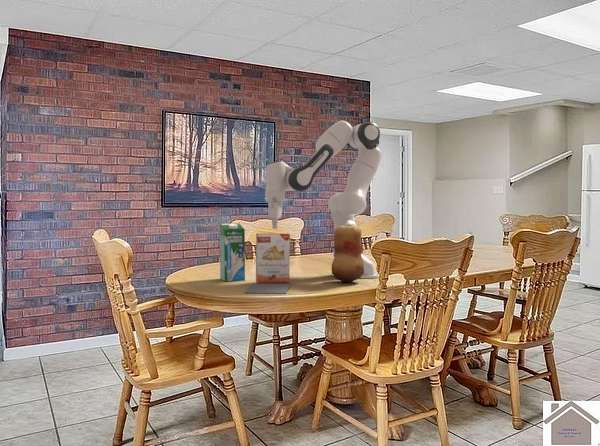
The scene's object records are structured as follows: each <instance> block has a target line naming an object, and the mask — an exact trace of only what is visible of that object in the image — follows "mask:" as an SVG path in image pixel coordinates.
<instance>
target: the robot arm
mask: <svg viewBox="0 0 600 446" xmlns="http://www.w3.org/2000/svg"><path fill="white" fill-rule="evenodd" d="M380 136H381V131H380V128H379V126H378V125H377V124H376V123H375V122H373V121H365V122H362V123H359V124H357V125H354V126H352V125H351V124H350V123H349V122H348V121H346V120H342V119H341V120H339V121H337V122H335V123H333V125H330V127H328V128H327V129H326V130H325V131H324V132H323V133H322V134H321V135H320V137H318V139H317V140H316V142H315V151H316V152H315V153H314V154H313V155H312V156H311V158H310V159H309V160H308V161H306V163H305V164H304V165H302V166H301V167H300V166H299V167H297V168H295V167H291V166H290V165H288V164H287V163H285V162H284V161H283V160H277V161H271V162H269V163H267V165H266V169H265V180H264V181H265V191H264V194H265V195H264V197H265V198H264V200H265V201H264V202H267V205H268V207H267V209H268V211H267V212H268V213H267V216H268V217H267V218H268V219H269V220H271V225H272V227H271V228H272V229H273V230H277V228H278V224H279V219H281V217H282V215H283V214H282V213H283V205H284V204H283V203H284V202H286V190H289V191H292V192H293V191H296V192H305V191H306V190H308V189H309V188H310V187H311V186H312V184H313V182H314V178H315V176H316V175H317V174H318V173H319V172H320V170H321V169H322V168H323V167H324V166H325V165H326V164H327V163H328V162H329V161H330V160H331V159H332V158H333V157H335V156H336V155H337V154H338V153H340V152H341V150H342V149H343V148H344V147H345V146H347V147H348V148H351V149H353V150H358V152H357V153H358V154H357V157H356V159H355V161H354V163H353V164H352V166H351V169H350V170H349V172H348V174H347V178H346V179H347V182H346V187H345V189H344V191H342V192H341V191H339V192H336V193H334V194H333V195H331V196H330V198H329V199H328V201H327V202H328V204H327V205H328V209H329V211H330V213H331V216H332V217H331V218H332V222H333V227H334V231H335V230H336V228H337V227H338V226H340V225H344V224H355V225H357V223H356V220H355V216H356V217H357V216H358V215H361V214H362V213H364V212H365V210H366V208H367V205H368V204H367V195H368V190H369V187H370V185H371V183H372V181H373V179H374V176H375V175H376V173H377V171H378V168H379V167H380V166H379V165H380V163H381V159H382V151H381V149H380V148H379V147H378V146H379V144H380V138H381V137H380ZM364 251H365V248H364V247H363V246H362V251H361V256H362V259H363V263H364V274H363V275H362V276H361V277H360V278H359V279H376V278H377V279H378V278H379V277H378V275H377V272H378V271H376V267H375V263H374V262H373V261H372V259H370V258H369V257H368V256H366V255H365V254H363V252H364ZM334 257H335V245H333V258H334ZM330 276H332V277H334V275H333V274H332V273H331V274H330Z"/></svg>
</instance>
